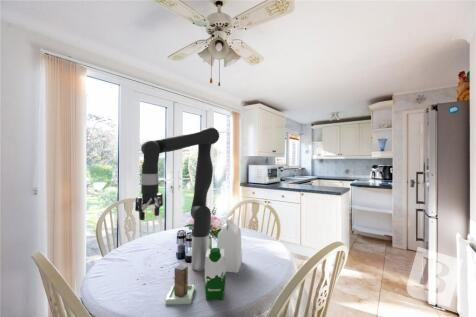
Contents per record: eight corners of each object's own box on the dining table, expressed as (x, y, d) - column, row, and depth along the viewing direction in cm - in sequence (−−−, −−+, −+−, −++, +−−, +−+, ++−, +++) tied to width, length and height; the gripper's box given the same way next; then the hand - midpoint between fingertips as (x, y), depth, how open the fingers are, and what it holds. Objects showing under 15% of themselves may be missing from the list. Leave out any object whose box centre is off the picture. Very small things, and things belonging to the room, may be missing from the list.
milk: (237, 272, 110) (238, 221, 111) (216, 270, 113) (216, 220, 113) (242, 261, 122) (242, 215, 122) (222, 259, 124) (222, 214, 125)
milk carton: (203, 301, 88) (203, 252, 88) (206, 288, 97) (206, 243, 97) (225, 301, 88) (225, 252, 88) (225, 288, 97) (226, 243, 97)
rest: (194, 289, 96) (194, 284, 96) (190, 303, 86) (190, 298, 86) (172, 289, 96) (172, 284, 96) (165, 304, 86) (165, 299, 86)
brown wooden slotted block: (180, 290, 94) (180, 264, 94) (187, 293, 92) (187, 266, 92) (174, 295, 90) (174, 268, 90) (182, 298, 89) (182, 270, 89)
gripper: (143, 185, 94) (143, 222, 94) (167, 182, 107) (166, 215, 107) (131, 184, 97) (131, 220, 97) (155, 181, 110) (155, 213, 110)
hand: (149, 217), depth 102 cm, fingers open, 8 cm apart
